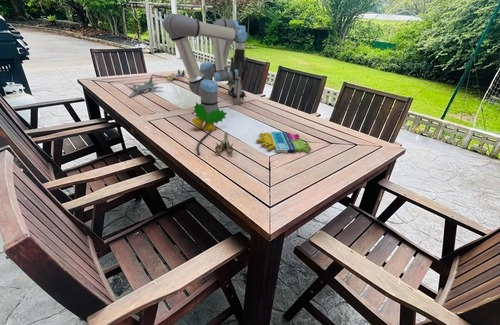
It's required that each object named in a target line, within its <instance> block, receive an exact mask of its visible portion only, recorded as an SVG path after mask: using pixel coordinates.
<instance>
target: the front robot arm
mask: <svg viewBox="0 0 500 325" xmlns="http://www.w3.org/2000/svg"><path fill="white" fill-rule="evenodd" d="M162 25H163V30H165V32H166V33H167V34H168V35H169V36H168V37H169V38H170V40H171V42H173V43H175V46H176V49H177V51H178V53H179V56H180V58H181V60H182V63H183V66H184V67H185V70H186V72H187V75H188V79H187V80H188V81H187V82H188V83H189V84H188V88H189V90H190V91H191V92H192V93H193V94H194V95H197V97H198V96H199V97H200V104H201V106H204V109H206V112H208V113H211V112H212V110H214V111H216V110H217V109H219V111H221V110H220V108H219V102H218V99H219V98H218V97H219V87H218V82H216V81H215V80H214V79H213V80H208V79H205V77H204V74H202V73H201V72H200V66H199V65H198V61H197V59H196V57H195V54H194V51H193V49H192V46H191V43H190V41H189V37H193V38H198V37H205V38H211V39H212V38H217V39H222V40H230V41H232V42H234V55H233V56H231V57H230V66H229V71H232V76H233V81H235V69H236V70H237V66H238V64H239V63H240V65H241V68H242V71H241V81H243V82H244V81H245V76H246V73H247V72H248V70H249V68H248V67H249V66H248V65H249V64H248V62H249V61H248V60H249V57H247V56H245V54H246V53H245V52H246V49H245V48H246V41H247V40H248V32H246V31H247V28H246V25H240V24H239V25H236V26H235V28H234V29H233V28H229V27H223V26H218V25H213V23H207V22H203V21H200V20H199V19H197V18H193V17H189V16H187V15H183V14H178V13H169V14H167V15H165V17H164V18H163V21H162ZM208 113H207V115H208ZM211 133H212V130H210V131H208V132H207V133H206V134H205V136H203V137H202V138H200V140H199V141H198V143H197V146H196V152H197V155H198V156H199V155H200V151H199V147H200V144H201V143H202V142H203V140H204V139H205V138H206V137H208V136H209V134H211Z"/></svg>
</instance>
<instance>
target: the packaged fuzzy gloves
mask: <svg viewBox="0 0 500 325" xmlns="http://www.w3.org/2000/svg"><path fill="white" fill-rule="evenodd" d="M299 136H300V135H299V134H298V133H296V134H294V133H291V132H287V131H270V132H264V133H263V132H260V133H259V139H258V138H257V139H256V143H257V144H261V148H263V147H264V148H265V149H267V151H268V152H271V151H272V150H273V149H275V152H276V153H283V154H285V153H287V154H288V153H290V154H293V153H296V152H298V153H301V152H305V153H310V151H311V150H312V149H311V148H312V146H309V142H304V141H303V139H302V138H299Z"/></svg>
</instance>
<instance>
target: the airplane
mask: <svg viewBox="0 0 500 325" xmlns="http://www.w3.org/2000/svg"><path fill="white" fill-rule="evenodd" d="M153 75H154V74H151V76H150V78H149V80H148V81H147V82H146V81H144V82H143V85H142V84H134V83H129V84H128V85H130V86H132V87H131V89H133V91H132V92H131V93H130V94H129V95H128V96H127V98H129V97H130V98H131V97H135V96H137V95H139V94H141V93H148V92H150V91H151V90H152V92H154V91H156V90H157V89H163V88H164V87H162V86H157V85H158V83H154V82H153V78H154V76H153ZM155 85H156V86H155Z"/></svg>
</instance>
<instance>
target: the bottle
mask: <svg viewBox="0 0 500 325" xmlns="http://www.w3.org/2000/svg"><path fill="white" fill-rule="evenodd" d="M242 91H243V85H242V82H241V81H236V84H235V86H234V95H235V99H234V98H233V105H235V106H240V105H242V98H241V97H242Z"/></svg>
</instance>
